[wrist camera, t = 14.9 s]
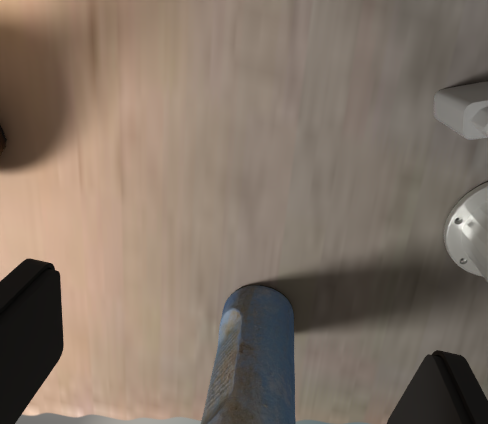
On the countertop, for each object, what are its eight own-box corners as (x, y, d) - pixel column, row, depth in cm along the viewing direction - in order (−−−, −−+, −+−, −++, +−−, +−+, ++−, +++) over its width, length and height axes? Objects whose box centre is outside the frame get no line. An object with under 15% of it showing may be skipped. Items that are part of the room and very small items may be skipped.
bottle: (248, 271, 49) (199, 564, 22) (309, 308, 51) (329, 622, 24) (211, 315, 53) (132, 606, 27) (268, 347, 55) (247, 654, 28)
